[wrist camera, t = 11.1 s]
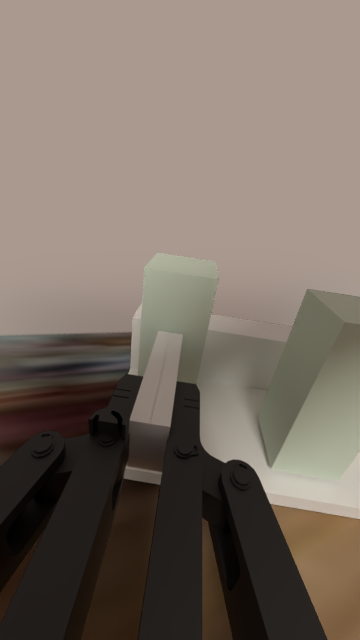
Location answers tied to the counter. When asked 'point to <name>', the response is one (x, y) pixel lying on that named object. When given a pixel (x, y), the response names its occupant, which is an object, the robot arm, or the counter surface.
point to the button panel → (250, 414)
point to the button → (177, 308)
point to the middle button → (316, 390)
